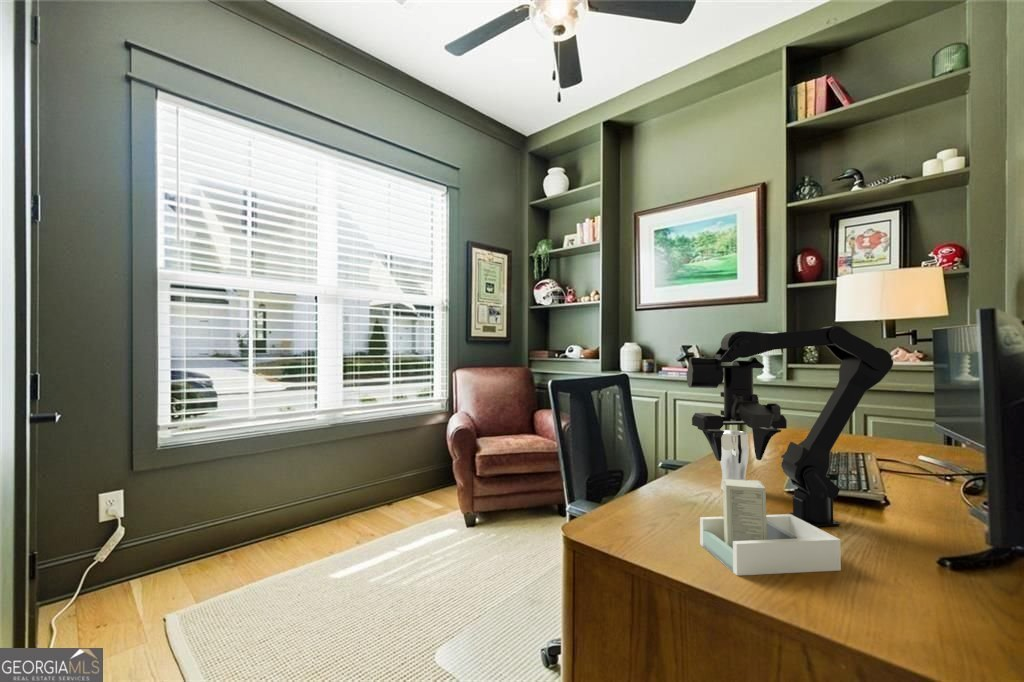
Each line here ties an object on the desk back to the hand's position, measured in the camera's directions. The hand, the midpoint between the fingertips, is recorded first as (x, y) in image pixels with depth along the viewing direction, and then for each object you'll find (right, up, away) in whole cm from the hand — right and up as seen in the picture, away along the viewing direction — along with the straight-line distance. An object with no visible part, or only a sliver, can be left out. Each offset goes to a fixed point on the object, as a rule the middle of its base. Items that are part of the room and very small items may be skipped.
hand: (738, 460), depth 94 cm
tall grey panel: (-3, -11, -19) cm, 22 cm away
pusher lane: (-5, -12, -19) cm, 23 cm away
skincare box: (-9, -11, -19) cm, 24 cm away
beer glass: (+7, -13, +17) cm, 22 cm away
